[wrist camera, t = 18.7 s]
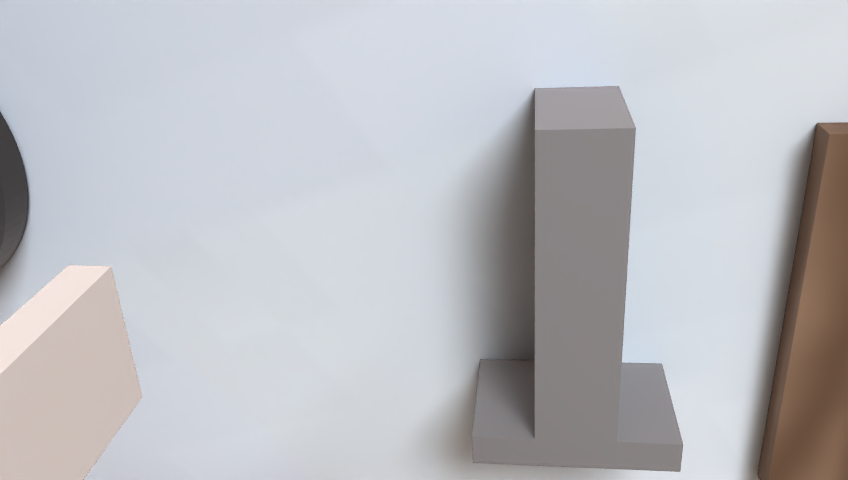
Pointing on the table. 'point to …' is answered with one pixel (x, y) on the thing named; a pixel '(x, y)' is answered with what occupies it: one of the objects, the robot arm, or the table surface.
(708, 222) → the table surface
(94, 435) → the robot arm
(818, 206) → the walnut board
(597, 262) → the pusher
